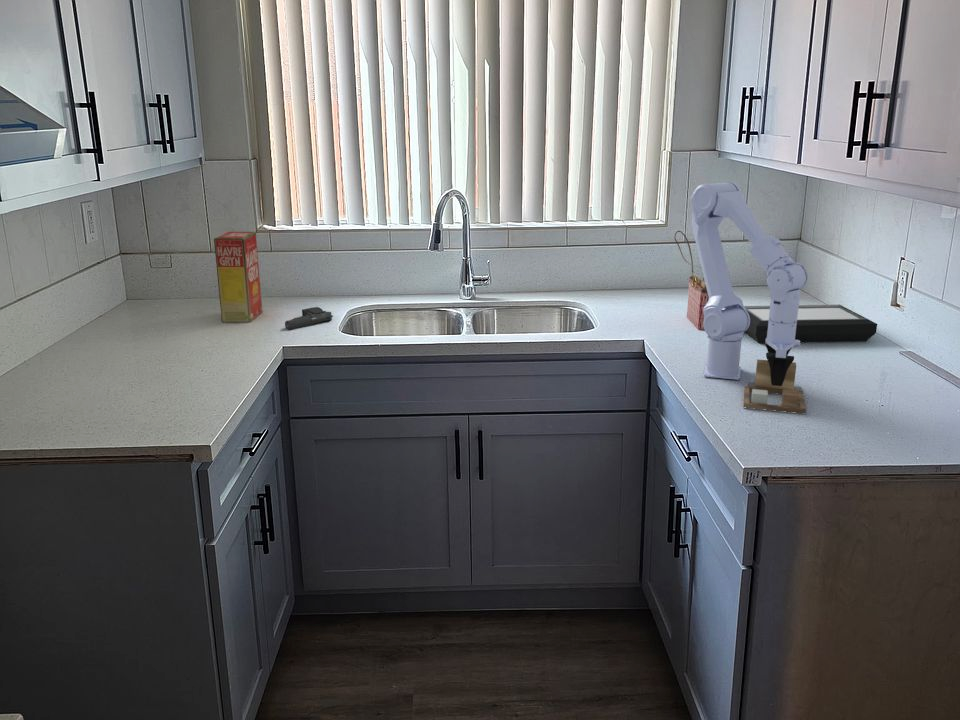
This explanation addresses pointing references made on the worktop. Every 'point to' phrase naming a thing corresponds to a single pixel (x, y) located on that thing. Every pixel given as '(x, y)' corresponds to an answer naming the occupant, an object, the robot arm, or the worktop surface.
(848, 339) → the electronic device
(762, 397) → the offcut grey
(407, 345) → the worktop surface
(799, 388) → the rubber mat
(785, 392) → the offcut dark
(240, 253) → the food packaging
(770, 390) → the frame
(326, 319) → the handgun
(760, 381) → the oak board
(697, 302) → the handbag
